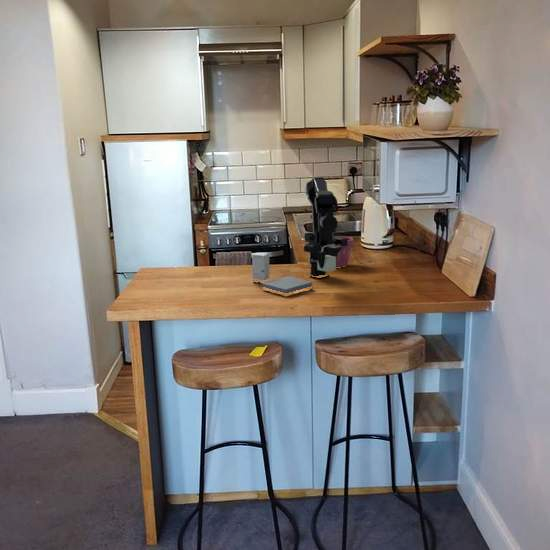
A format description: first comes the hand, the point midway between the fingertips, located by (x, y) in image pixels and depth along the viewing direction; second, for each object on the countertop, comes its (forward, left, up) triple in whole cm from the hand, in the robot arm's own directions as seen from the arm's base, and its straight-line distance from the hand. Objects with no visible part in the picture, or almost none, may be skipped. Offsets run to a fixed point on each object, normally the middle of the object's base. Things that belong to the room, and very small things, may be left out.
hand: (326, 266), depth 223 cm
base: (+10, -12, -9) cm, 18 cm away
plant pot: (-32, -24, -10) cm, 41 cm away
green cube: (0, 0, -1) cm, 1 cm away
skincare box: (+9, -29, -10) cm, 32 cm away
